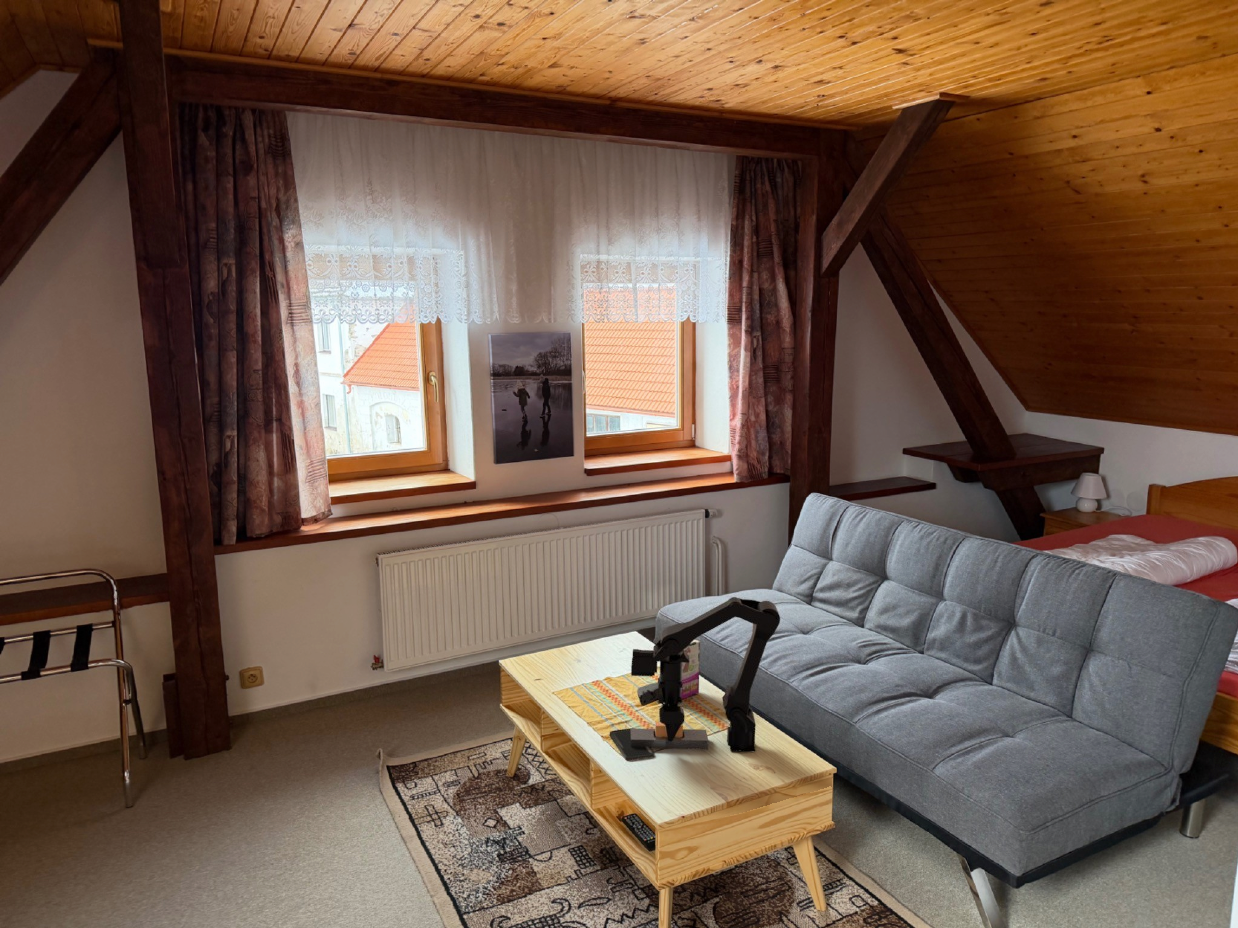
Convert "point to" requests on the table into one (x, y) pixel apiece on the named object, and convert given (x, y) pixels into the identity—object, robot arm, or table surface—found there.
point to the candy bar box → (691, 671)
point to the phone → (629, 746)
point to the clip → (661, 730)
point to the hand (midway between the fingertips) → (669, 732)
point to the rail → (688, 741)
